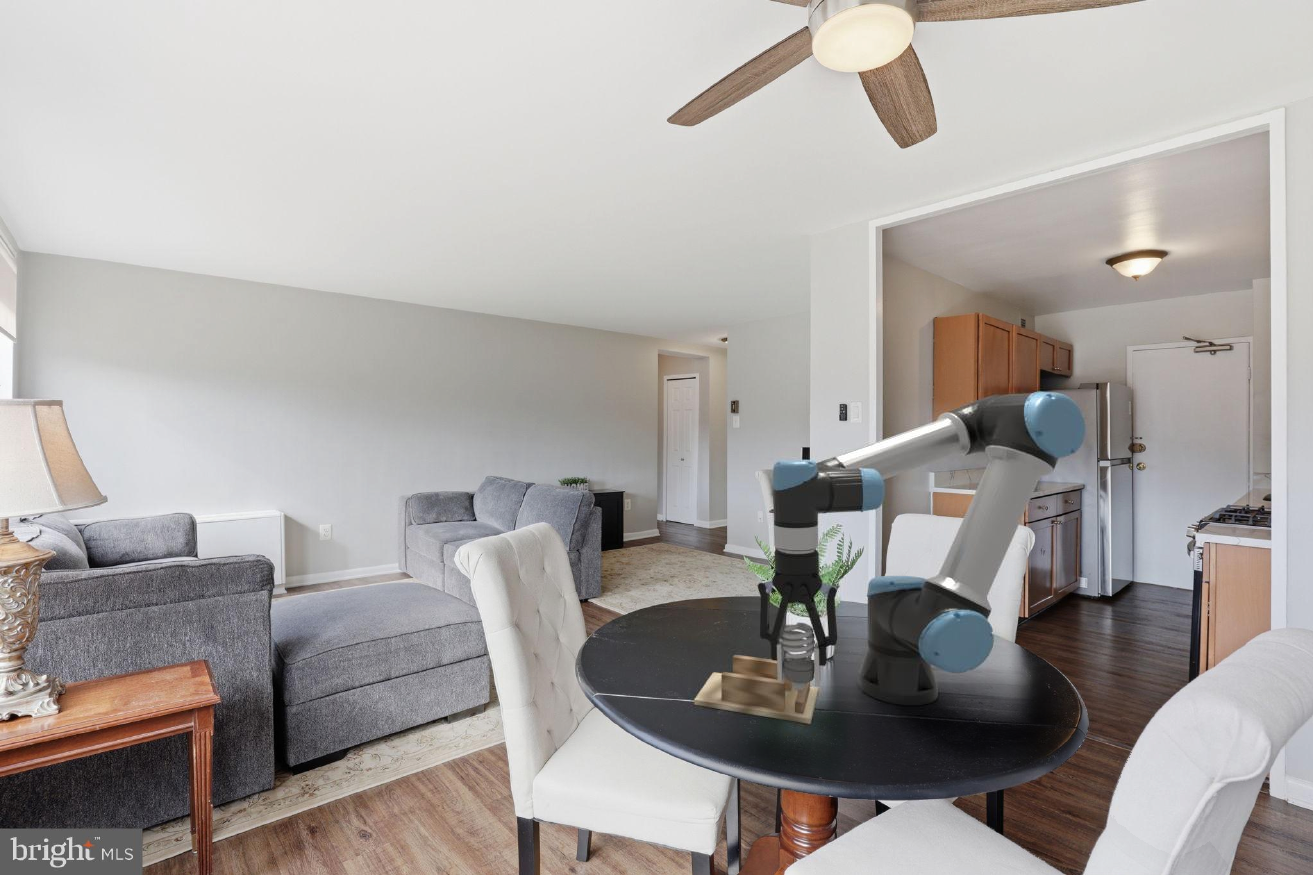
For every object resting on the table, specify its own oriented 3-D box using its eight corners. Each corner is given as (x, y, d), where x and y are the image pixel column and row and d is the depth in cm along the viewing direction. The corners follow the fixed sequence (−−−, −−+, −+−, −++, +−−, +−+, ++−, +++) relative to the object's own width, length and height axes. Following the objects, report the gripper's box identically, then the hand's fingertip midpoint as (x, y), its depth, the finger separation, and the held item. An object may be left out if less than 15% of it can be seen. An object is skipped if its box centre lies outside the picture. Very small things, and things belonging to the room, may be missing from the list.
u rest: (818, 692, 125) (818, 662, 125) (810, 723, 112) (810, 691, 112) (713, 676, 133) (713, 649, 132) (694, 704, 119) (694, 674, 119)
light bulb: (810, 683, 111) (809, 617, 110) (820, 697, 105) (818, 627, 105) (779, 684, 110) (778, 618, 110) (787, 699, 105) (785, 629, 104)
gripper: (853, 546, 107) (856, 678, 108) (747, 542, 114) (750, 666, 114) (851, 556, 100) (854, 696, 101) (738, 551, 107) (742, 683, 107)
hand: (799, 680), depth 108 cm, fingers closed on light bulb, 6 cm apart
